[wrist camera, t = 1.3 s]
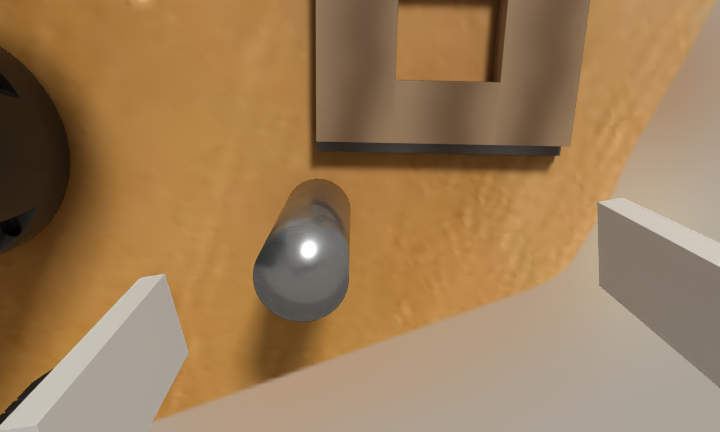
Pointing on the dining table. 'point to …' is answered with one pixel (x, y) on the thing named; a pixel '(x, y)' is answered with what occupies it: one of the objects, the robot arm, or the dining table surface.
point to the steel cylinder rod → (306, 254)
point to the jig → (448, 84)
